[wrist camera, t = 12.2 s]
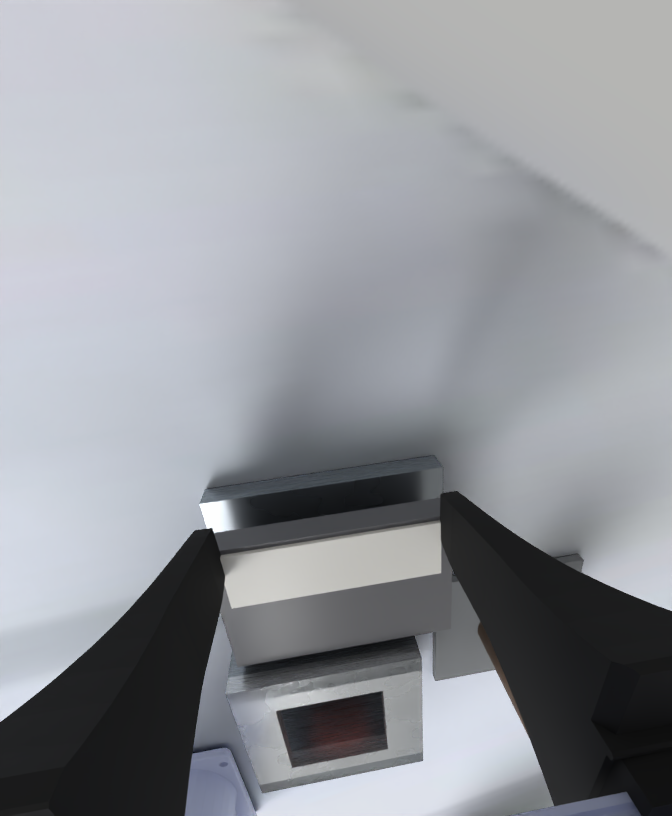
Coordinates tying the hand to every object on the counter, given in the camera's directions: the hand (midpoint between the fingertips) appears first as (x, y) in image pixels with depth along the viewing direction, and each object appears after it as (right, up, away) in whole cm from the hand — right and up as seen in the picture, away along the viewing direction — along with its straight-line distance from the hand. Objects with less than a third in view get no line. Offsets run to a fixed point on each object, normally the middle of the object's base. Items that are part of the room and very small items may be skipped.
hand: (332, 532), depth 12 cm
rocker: (0, -3, +2) cm, 3 cm away
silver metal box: (0, -5, +6) cm, 8 cm away
